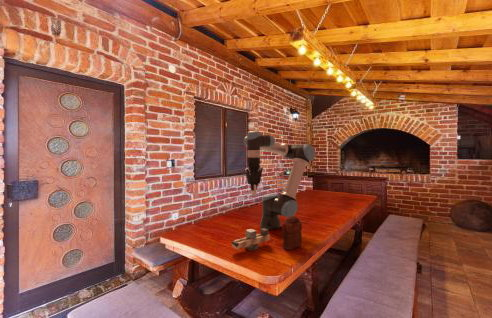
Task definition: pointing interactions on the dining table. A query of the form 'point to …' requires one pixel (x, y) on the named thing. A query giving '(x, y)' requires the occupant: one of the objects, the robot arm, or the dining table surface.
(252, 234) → the block
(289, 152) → the robot arm
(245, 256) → the dining table surface
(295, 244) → the wooden figurine
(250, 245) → the beam
